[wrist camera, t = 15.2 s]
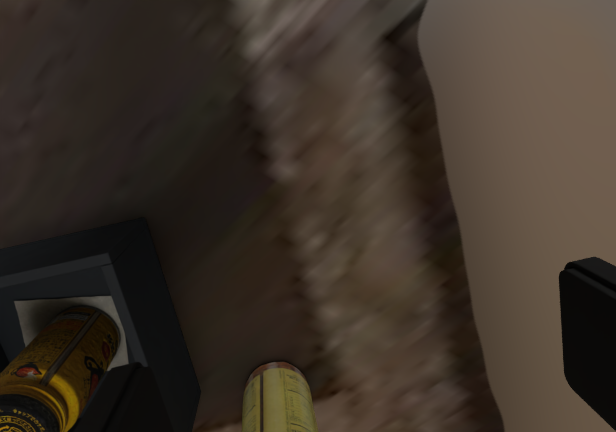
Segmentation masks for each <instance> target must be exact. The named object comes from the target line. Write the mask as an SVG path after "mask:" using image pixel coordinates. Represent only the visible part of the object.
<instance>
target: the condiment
mask: <svg viewBox="0 0 616 432" xmlns="http://www.w3.org/2000/svg"><path fill="white" fill-rule="evenodd" d="M14 302H15V306H16V310H17V312H18V317H19V321H20V326H21V329H22V334H23V339H24V343H25V348H24V349H23V351H22V352H21V353H20V354H19V355H18V356H17V357H16V358H15V359H14V360H13V361H12V362H11V363H10V364H9V365H8V366H7V367H6V368H5V369H4V370H3V371H2V372H1V373H0V432H67V431H68V430H69V429H70V428H71V427H72V426H73V425H74V424H75V423H76V421H77V419H78V418H79V417H80V414H81V413H82V411H83V409H84V407H85V405H86V404H87V402H88V400H89V399H90V397H91V395H92V394H93V392H94V390H95V389H96V387H97V385H98V384H99V382H100V381H101V379H102V377H103V376H104V375H105V372H106V371H110V369H111V368H113V367H117V366H122V365H126V364H129V363H128V355H127V346H126V338H125V332H124V330H123V327H122V324H121V321H120V319H119V316H118V313H117V310H116V308H115V305H114V302H113V299H112V297H111V296H95V297H78V298H77V297H74V298H62V299H39V300H29V301H14Z"/></svg>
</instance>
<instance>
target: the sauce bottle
mask: <svg viewBox="0 0 616 432" xmlns="http://www.w3.org/2000/svg"><path fill="white" fill-rule="evenodd" d="M242 432H318V428H317V423H316V418H315V413H314V408H313V403H312V398H311V393H310V389H309V386H308V384H307V382H306V378H305V376H304V375H303V374H302V373H301V372H300V371H299V370H298V369H297V368H295V367H294V366H293V365H290V364H289V363H286V362H272V363H268V364H265V365H262V366H259V367H258V368H257V369H256V370H254V371H253V373H252V374H251V375H250V377H249V379H248V381H247V383H246V385H245V391H244V396H243V415H242Z"/></svg>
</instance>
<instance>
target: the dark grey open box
mask: <svg viewBox="0 0 616 432" xmlns="http://www.w3.org/2000/svg"><path fill="white" fill-rule="evenodd" d="M95 296H111V297H112V299H113V302H114V305H115V308H116V310H117V313H118V316H119V319H120V321H121V324H122V327H123V330H124V332H125V338H126V346H127V355H128V363H129V364H130V363H135V362H140V363H141V364H142V365H143V367H147V366H149V367H150V368H151V369H152V371H153V373H154V376H155V379H156V382H157V384H158V387H159V390H160V393H161V396H162V399H163V401H164V404H165V407H166V410H167V413H168V416H169V418H170V421H171V424H172V427H173V430H174V432H192V429H193V424H194V420H195V416H196V411H197V407H198V403H199V399H200V394H201V390H200V387H199V384H198V381H197V378H196V375H195V372H194V369H193V366H192V362H191V359H190V356H189V353H188V350H187V347H186V344H185V341H184V338H183V335H182V331H181V328H180V325H179V322H178V319H177V316H176V313H175V310H174V307H173V304H172V300H171V297H170V294H169V291H168V288H167V285H166V282H165V279H164V276H163V273H162V269H161V266H160V263H159V260H158V257H157V254H156V251H155V248H154V245H153V242H152V239H151V235H150V232H149V229H148V226H147V223H146V220H145V218H139V219H135V220H130V221H126V222H121V223H117V224H112V225H108V226H103V227H99V228H94V229H90V230H85V231H81V232H76V233H72V234H67V235H63V236H58V237H54V238H49V239H45V240H40V241H36V242H31V243H27V244H22V245H18V246H13V247H9V248H4V249H0V373H1V372H2V371H3V370H4V369H5V368H6V367H7V366H8V365H9V364H10V363H11V362H12V361H13V360H14V359H15V358H16V357H17V356H18V355H19V354H20V353H21V352H22V351H23V349H24V348H25V343H24V339H23V334H22V329H21V326H20V321H19V317H18V312H17V310H16V306H15V302H14V301H29V300H39V299H62V298H74V297H77V298H78V297H95ZM108 372H109V371H106V372H105V375H104V376H103V377H102V379H101V381H100V382H99V384H98V385H97V387H96V389H95V390H94V392H93V394H92V395H91V397H90V399H89V400H88V402H87V404H86V405H85V407H84V409H83V411H82V413H81V414H80V417H79V418H78V419H77V421H76V423H75V424H74V425H73V426H72V427H71V428H70V429H69V430H68V431H67V432H74V430H75V429H76V427H77V425H78V423H79V422H80V420H81V418H82V417H83V415H84V413H85V411H86V410H87V408H88V406H89V405H90V403H91V401H92V400H93V398H94V396H95V394H96V393H97V391H98V389H99V388H100V386H101V384H102V382H103V381H104V379H105V377H106V376H107V374H108Z"/></svg>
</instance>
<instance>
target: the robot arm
mask: <svg viewBox="0 0 616 432" xmlns="http://www.w3.org/2000/svg"><path fill="white" fill-rule="evenodd" d="M559 289H560V306H561V325H562V343H563V362H564V374H565V377H566V380H567V382H568V384H569V385H570V387H571V388H572V389H573V390H574V391H575V392H576V393H577V394H578V395H579V396H580V397H581V398H582V399H583V400H584V401H585V402H586V403H587V404H588V405H589V406H590V407H591V408H592V409H593V410H594V411H596V412H597V413H598V414H599V415H600V416H601V417H602V418H603V419H604V420H605V421H606V422H607V423H608V424H609V425H610V426H611V427H612V428H613V429H614V430H616V266H614V265H612V264H610V263H608V262H606V261H603V260H602V259H600V258H597V257H591V258H586V259H582V260H578V261H573V262H569V263H567V264H566V266H565V268H564V270H563V271H561V272H560V274H559ZM74 432H174V430H173V427H172V424H171V421H170V418H169V416H168V413H167V410H166V407H165V404H164V401H163V399H162V396H161V393H160V390H159V387H158V384H157V382H156V379H155V376H154V373H153V371H152V369H151V368H150V367H149V366H147V367H143V365H142V364H141V363H140V362H135V363H130V364H126V365H122V366H117V367H113V368H111V369H110V371H109V372H108V374H107V376H106V377H105V379H104V381H103V382H102V384H101V386H100V388H99V389H98V391H97V393H96V394H95V396H94V398H93V400H92V401H91V403H90V405H89V406H88V408H87V410H86V411H85V413H84V415H83V417H82V418H81V420H80V422H79V423H78V425H77V427H76V429H75V430H74Z"/></svg>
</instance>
